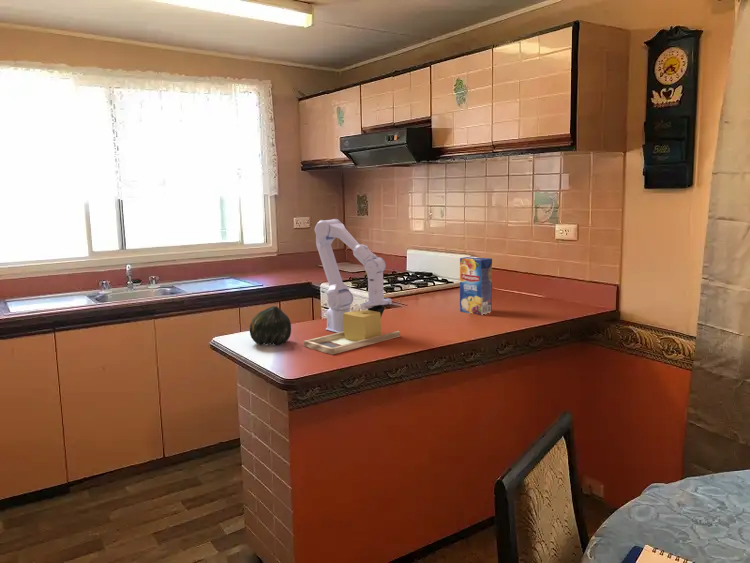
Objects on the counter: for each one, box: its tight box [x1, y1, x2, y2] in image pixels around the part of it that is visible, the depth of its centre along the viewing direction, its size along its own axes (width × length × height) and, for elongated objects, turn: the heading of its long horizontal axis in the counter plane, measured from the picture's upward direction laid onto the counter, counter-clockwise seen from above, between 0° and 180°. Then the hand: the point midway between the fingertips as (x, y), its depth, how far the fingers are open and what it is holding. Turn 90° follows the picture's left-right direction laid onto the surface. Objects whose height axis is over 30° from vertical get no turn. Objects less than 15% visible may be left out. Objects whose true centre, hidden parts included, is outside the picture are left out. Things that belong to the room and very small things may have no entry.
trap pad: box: [319, 341, 340, 348], centre depth 217 cm, size 13×8×1 cm, turn 43°
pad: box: [328, 337, 356, 346], centre depth 224 cm, size 13×12×1 cm
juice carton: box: [459, 256, 493, 316], centre depth 267 cm, size 12×8×24 cm, turn 42°
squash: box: [249, 305, 292, 346], centre depth 222 cm, size 14×15×15 cm
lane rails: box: [303, 330, 401, 355], centre depth 224 cm, size 16×33×2 cm, turn 133°
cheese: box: [343, 309, 382, 341], centre depth 227 cm, size 10×11×10 cm
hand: (376, 325), depth 232 cm, fingers closed
